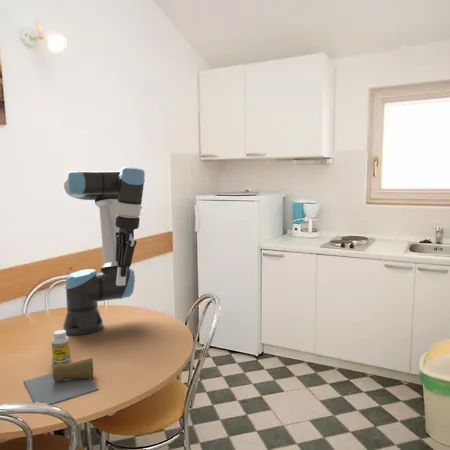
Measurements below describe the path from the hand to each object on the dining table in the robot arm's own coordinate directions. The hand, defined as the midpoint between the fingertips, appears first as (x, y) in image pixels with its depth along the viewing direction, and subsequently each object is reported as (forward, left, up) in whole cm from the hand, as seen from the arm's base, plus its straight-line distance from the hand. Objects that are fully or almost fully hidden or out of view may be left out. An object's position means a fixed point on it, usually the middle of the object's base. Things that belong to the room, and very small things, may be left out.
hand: (120, 284), depth 134 cm
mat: (+9, -23, -24) cm, 34 cm away
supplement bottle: (-9, -18, -25) cm, 32 cm away
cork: (+10, -13, -21) cm, 27 cm away
